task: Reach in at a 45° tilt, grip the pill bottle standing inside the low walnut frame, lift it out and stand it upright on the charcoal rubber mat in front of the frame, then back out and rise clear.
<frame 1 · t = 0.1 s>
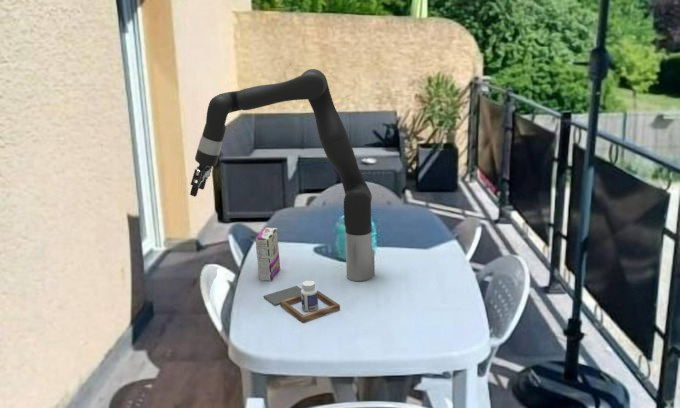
hand: (196, 192, 227), 31 cm above the table, tool tilted 20°, fingers open, 8 cm apart
walnut frame: (309, 308, 209), on the table
charcoal mat: (286, 296, 217), on the table
candy bar box: (269, 275, 234), on the table
pill bottle: (309, 308, 209), resting in walnut frame
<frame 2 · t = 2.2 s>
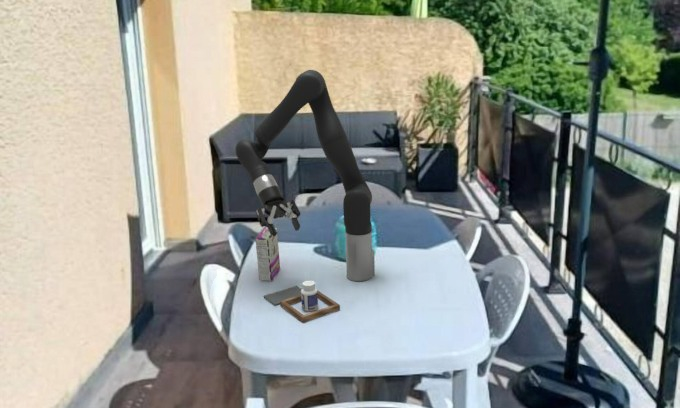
hand: (286, 232, 212), 22 cm above the table, tool tilted 45°, fingers open, 8 cm apart
nothing on the table moved.
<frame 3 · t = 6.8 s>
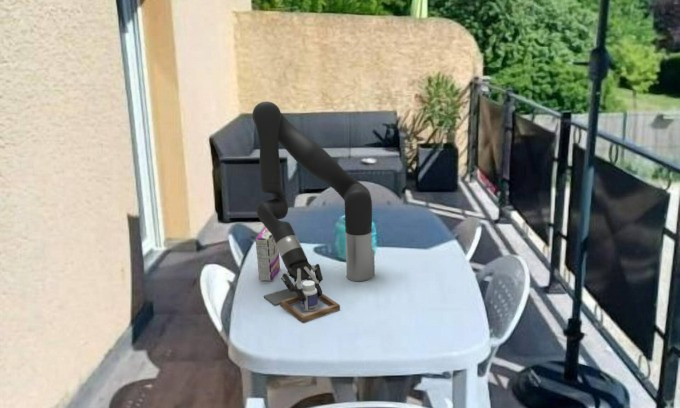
hand: (312, 298, 206), 4 cm above the table, tool tilted 45°, fingers closed on pill bottle, 5 cm apart
pill bottle: (309, 308, 209), resting in walnut frame, touching gripper
everything else where it was.
when the fingers open (6 cm above the table, at t = 12.7 s): pill bottle drops 1 cm, resting on charcoal mat.
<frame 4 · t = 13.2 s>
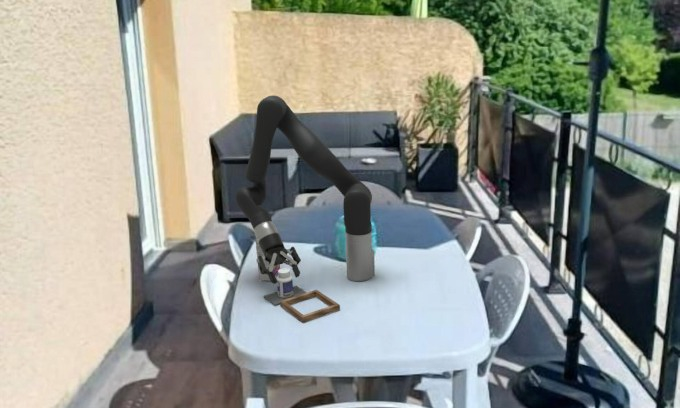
hand: (287, 279, 214), 7 cm above the table, tool tilted 45°, fingers open, 8 cm apart
pill bottle: (285, 295, 217), resting on charcoal mat
everything else where it was.
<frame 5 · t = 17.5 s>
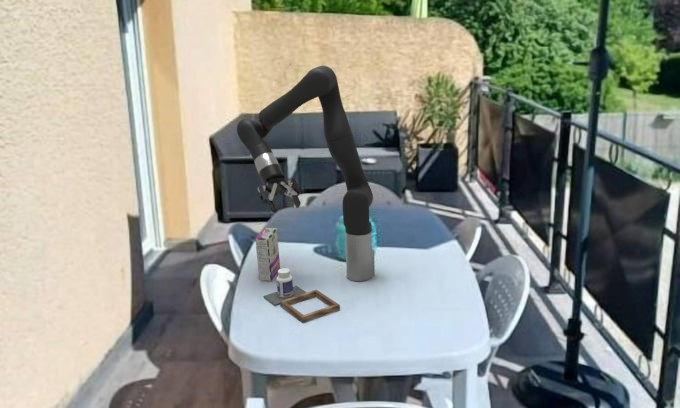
hand: (287, 209, 214), 29 cm above the table, tool tilted 45°, fingers open, 8 cm apart
nothing on the table moved.
at the end: pill bottle inside the target area on the charcoal mat (0.2 cm from its centre), point 0.4 cm above the charcoal mat's base; pill bottle tilted 0°; the gripper is holding nothing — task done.
